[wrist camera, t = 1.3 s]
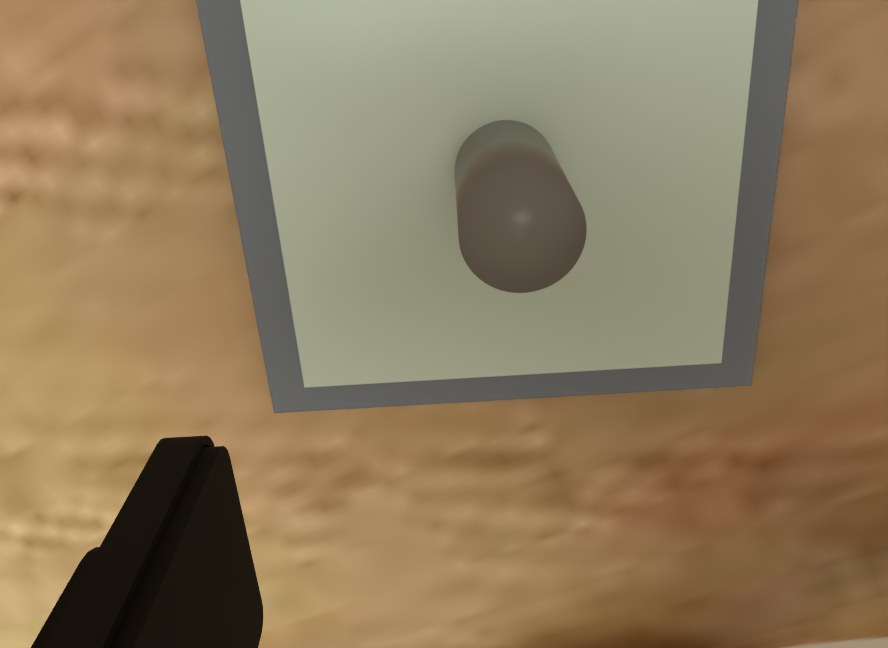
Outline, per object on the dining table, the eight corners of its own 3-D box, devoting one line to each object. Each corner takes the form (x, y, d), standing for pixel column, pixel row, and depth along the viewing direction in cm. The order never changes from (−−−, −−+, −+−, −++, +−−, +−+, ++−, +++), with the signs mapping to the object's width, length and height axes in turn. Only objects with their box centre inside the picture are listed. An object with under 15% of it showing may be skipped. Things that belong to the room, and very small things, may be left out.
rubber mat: (745, 377, 30) (751, 385, 30) (277, 404, 30) (274, 412, 30) (811, -178, 22) (820, -181, 22) (178, -130, 23) (171, -132, 22)
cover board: (714, 352, 29) (787, 463, 23) (307, 376, 29) (272, 492, 23) (759, -115, 22) (879, -134, 16) (234, -76, 23) (158, -80, 17)
